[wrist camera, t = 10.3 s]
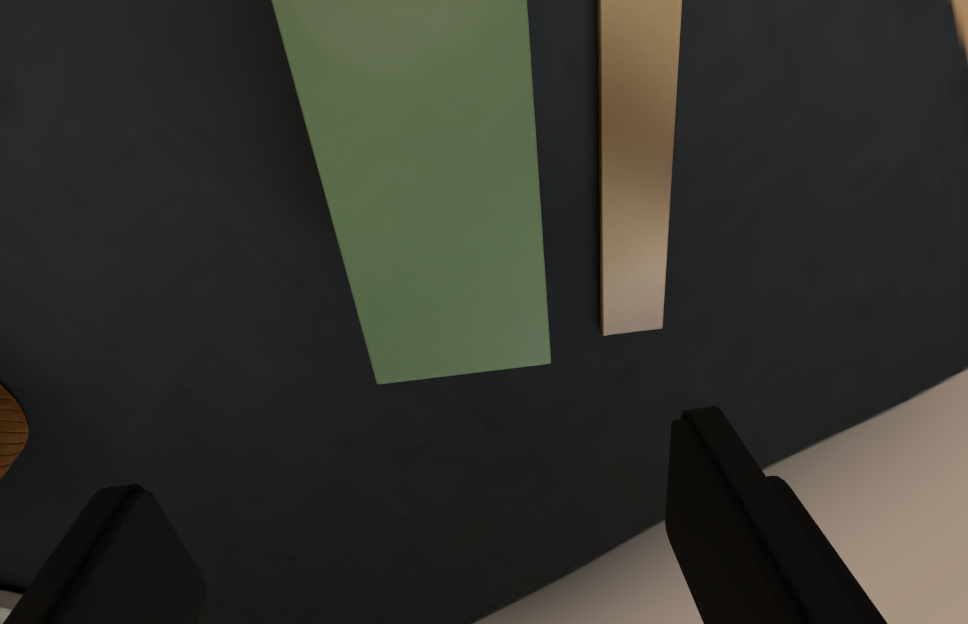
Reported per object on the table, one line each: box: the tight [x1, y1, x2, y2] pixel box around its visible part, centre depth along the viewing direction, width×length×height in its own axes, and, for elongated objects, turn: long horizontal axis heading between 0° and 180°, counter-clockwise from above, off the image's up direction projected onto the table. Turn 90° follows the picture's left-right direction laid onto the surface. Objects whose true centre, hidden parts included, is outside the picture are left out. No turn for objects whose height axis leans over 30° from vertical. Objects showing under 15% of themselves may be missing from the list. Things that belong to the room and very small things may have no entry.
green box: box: [271, 0, 551, 384], centre depth 16 cm, size 5×10×6 cm, turn 7°
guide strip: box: [598, 0, 682, 335], centre depth 18 cm, size 14×2×1 cm, turn 7°
